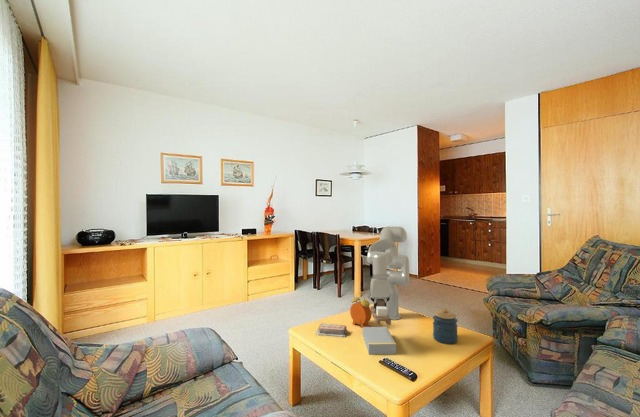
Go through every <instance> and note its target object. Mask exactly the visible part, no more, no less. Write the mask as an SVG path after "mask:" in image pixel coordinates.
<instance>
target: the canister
mask: <svg viewBox="0 0 640 417" xmlns="http://www.w3.org/2000/svg"><path fill="white" fill-rule="evenodd" d="M456 317H457V315H456V313H453V311H451V310H448V309H447V308H446V307H444V308H442V309H438V310H436V311H434V315H433V316H432V319H433V322H432V324H433V325H432V327H433V329H432V330H433V332H432V337H433V339H434V340H435V341H436V342H438V343H440V344H444V343H445V344H444V345H453V344H452V343H454V344H457V343H458V339H459V337H458V319H457V318H456Z"/></svg>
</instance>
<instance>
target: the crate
mask: <svg viewBox="0 0 640 417" xmlns="http://www.w3.org/2000/svg"><path fill="white" fill-rule="evenodd" d="M376 314H377V316H387V308H386V306H376Z"/></svg>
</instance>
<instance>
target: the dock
mask: <svg viewBox="0 0 640 417" xmlns="http://www.w3.org/2000/svg"><path fill="white" fill-rule="evenodd" d="M362 337H363V341H364V344H365V347H366V349H367V353H368V355H397V342H396V341H395V340H394V338H393V336H392V335H391V332H390V331H389V328H388V327H387V326H369V327H363V328H362Z"/></svg>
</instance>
